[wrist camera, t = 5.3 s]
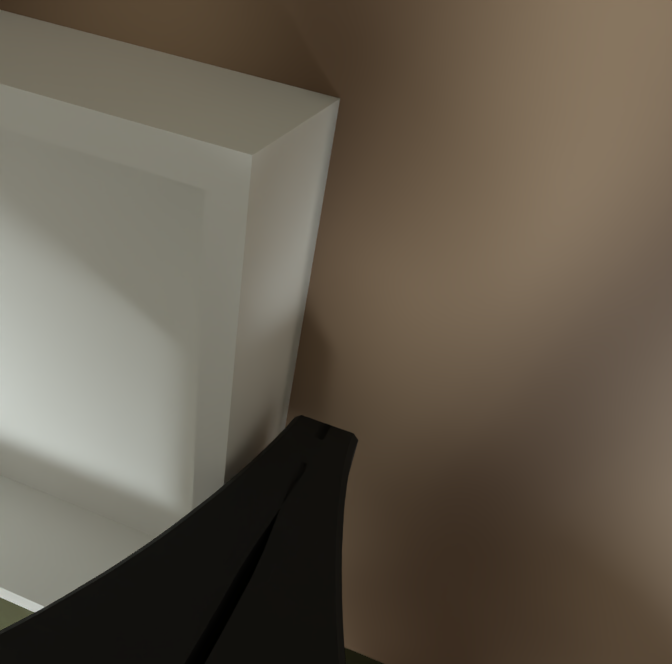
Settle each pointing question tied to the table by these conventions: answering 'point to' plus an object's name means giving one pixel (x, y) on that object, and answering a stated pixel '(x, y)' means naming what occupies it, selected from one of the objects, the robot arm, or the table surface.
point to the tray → (140, 289)
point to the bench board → (478, 307)
